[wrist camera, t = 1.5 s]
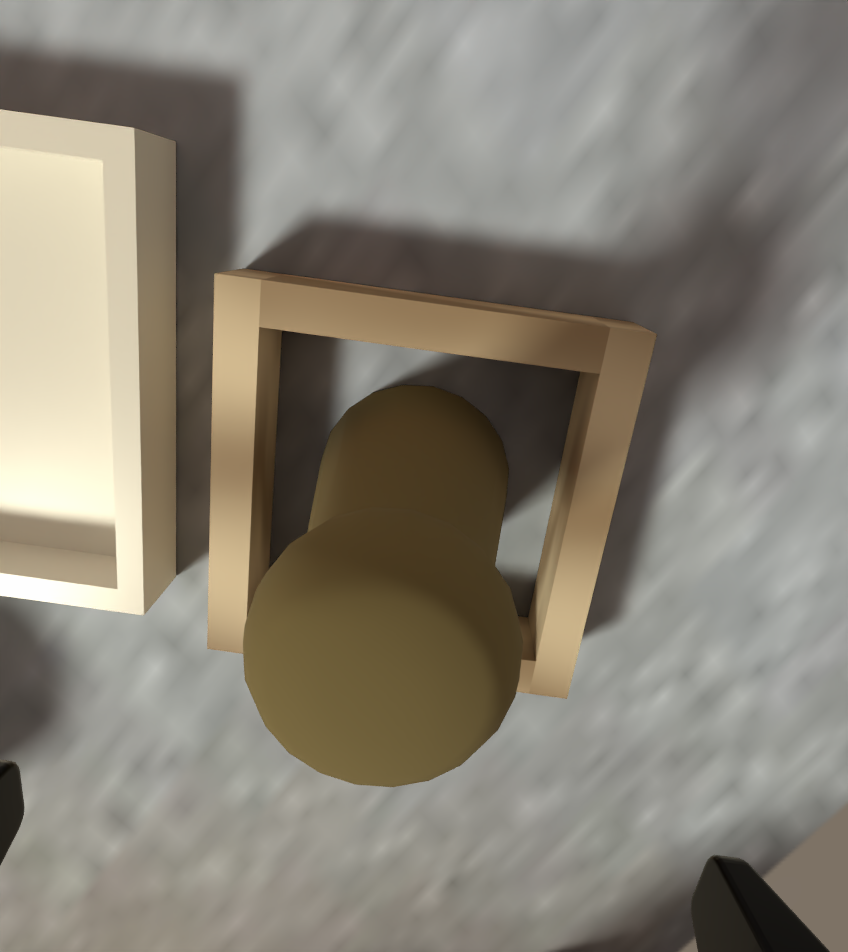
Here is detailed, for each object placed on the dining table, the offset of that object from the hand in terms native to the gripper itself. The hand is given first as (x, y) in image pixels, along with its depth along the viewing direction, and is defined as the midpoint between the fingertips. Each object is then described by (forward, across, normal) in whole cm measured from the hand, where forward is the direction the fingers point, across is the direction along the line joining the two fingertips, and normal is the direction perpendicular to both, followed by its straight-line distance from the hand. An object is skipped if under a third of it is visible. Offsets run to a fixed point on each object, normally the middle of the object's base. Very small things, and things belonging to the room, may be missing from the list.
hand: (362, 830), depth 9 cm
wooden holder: (+14, 0, 0) cm, 14 cm away
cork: (+14, 0, 0) cm, 14 cm away
